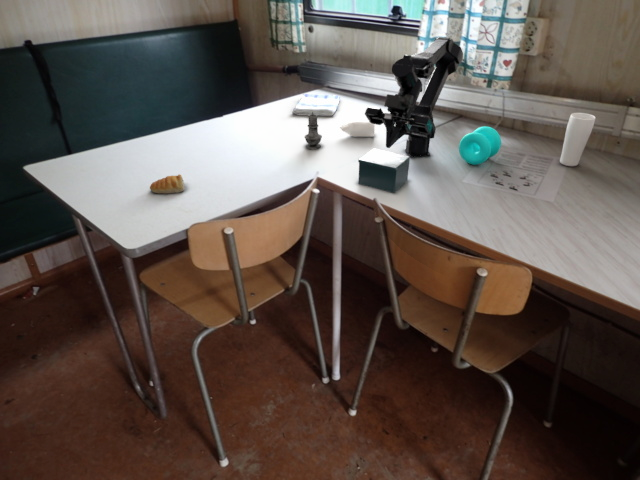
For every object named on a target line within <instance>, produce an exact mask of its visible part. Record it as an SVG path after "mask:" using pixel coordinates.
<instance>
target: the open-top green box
mask: <svg viewBox="0 0 640 480" xmlns="http://www.w3.org/2000/svg"><path fill="white" fill-rule="evenodd" d="M410 159H411V158H410ZM410 159H409V160H408V161H407V162H405V163H404V164H403V165H402V166H401V167H400V168H398V169H397V170H396V171H394V170H389V169H385V168H381V167H377V166H373V165H368V164H364V163H360V162H358V182H357V183H358V184H359V185H361V186H365V187H370V188H372V189H377V190H382V191H385V192H388V193H393V194H396V193H397V192H398V191H399V190H400V189H401V188H402V187H403V186H404V185H406V183H408V179H409V171H410V170H409V169H410Z"/></svg>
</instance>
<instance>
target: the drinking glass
mask: <svg viewBox="0 0 640 480" xmlns="http://www.w3.org/2000/svg"><path fill="white" fill-rule="evenodd" d="M596 118H597V117H596V116H595V115H593V114H590V113H586V112H572V113H571V114H570V116H569V119H568V122H567V124H566V127H565V128H566V129H565V134H564V138H563V144H562V148H561V149H562V150H561V153H560V154H561V155H560V158H559V163H560V164H561V165H563V166H566V167H577V166H578V165H580V164H579V163H580V160H581V158H582V155H583V153H584V150H585V148H586V146H587V144H588V141H589V140H590V136H591V135H592V132H593V129H594V125H595V122H596Z"/></svg>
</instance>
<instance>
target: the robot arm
mask: <svg viewBox="0 0 640 480" xmlns="http://www.w3.org/2000/svg"><path fill="white" fill-rule="evenodd" d="M463 58H464V53H463V49H462V47H461V46H460V45H458V44H457V43H456V42H454V40H453V38H451V37H447V36H437V37H434V40H433V42H431V44H430V45H428V47H426V48H425V49H424V50H423V51H422V52H417V53H413V54H404V55H403V58H400V59H398V60H396V61H395V62H394V63H393V64H392V65H391V73H392V76H393V77H394V80H395V82H396V84H397V86H398V87H399V90H398V92H397V93H395V94H389V93H387V94H386V98H385V101H384V105H383V106H384V108H385V107H387V112H384V111H383V110H382V108H381V107H377V106H368V107H367V108H366V109H365V112H364V115H365V117H366V118H367V121H369V122H370V123H372V124H374V125H377V126H381V125H382V124H383V125H384V127H385V132H386V133H385V147H386V148H387V149H390V148H391V147H392V146H393V145H394V144H396V142H398V141H399V140H400V139H401V138H403V136H407V139H406V142H405V149H404V151H405V152H406V153H407V154H408V156H410V158H420V157H421V158H422V157H430V156H431V153H430V152H429V150H430V142H431V139H435V136H436V129H437V128H436V125H435V122H434V121H435V120H434V115H433V111H434V109H435V106H436V104H437V102H438V101H439V98H440V95H441V93H442V91H443V88H444V86H445V84H446V81H447V79H448V78H449V76H450V75H452V74H454V72H456V71H457V70H458V68H459V66H460V65H461V64H462V62H463ZM429 78H430V79H429ZM421 79H424V80H428V79H429V81H428V83H427V86H426V87H425V90H424V92H423V85H424V84H423V82H422V81H421ZM420 93H423V94H422V96H421V98H420V101H419V102H418V99H419V96H420ZM417 102H418V104H416V103H417Z"/></svg>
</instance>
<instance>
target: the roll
mask: <svg viewBox="0 0 640 480" xmlns="http://www.w3.org/2000/svg"><path fill="white" fill-rule="evenodd" d="M339 129H340V130H341V131H342V132H344V133H345V134H347V135H348V136H350V137H356V138H361V137H362V138H363V137H364V138H365V137H366V138H367V137H371V138H374V137H375V124H372V123H370V122H369V120H359V119H357V120H352V121H350V122H348V123H346V124H343V125H340V127H339Z"/></svg>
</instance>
